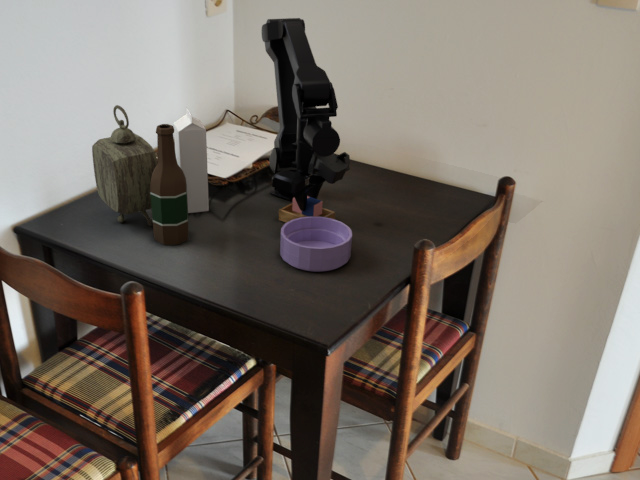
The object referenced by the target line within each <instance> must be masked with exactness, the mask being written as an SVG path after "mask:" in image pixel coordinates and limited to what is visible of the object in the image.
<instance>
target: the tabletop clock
mask: <svg viewBox="0 0 640 480" xmlns="http://www.w3.org/2000/svg"><path fill="white" fill-rule="evenodd" d="M117 110H119V111H120V112H121V113H122V114H123V116H124V118H125V120H123V119H119V118H118V117H117ZM112 112H113V117H114V120H115V123H116V124H117V126H119V127H117V128H116V129H114V130H113V131H111V134H110V137H104V138H100V139H98V140H96V142H94V143H93V144H92V145H91V153H92V154H91V155H92V163H93V164H92V165H93V172H94V179H95V185H96V190H97V195H98V196H99V198H100V199H101V200H102V201H103V202H104V203H105V204H106V205H107V206H108V207H109V208H110V209H111V210H113V211H114V212H115V213H119V215H118V216H117V222H118V223H124V222H125V219H126V218H125V215H130V214H131V215H132V214H136V213H141V214H142V216H144V218H146V220H147V225H148V226H149V227H153V219H152V218H150V216H149V214H148V213H147V210H152V206H151V193H150V183H151V178H152V174H153V171H154V169H155V167H156V166H157V161H158V157H157V155H156V151H155V149H154V148H153V146H152V145H151V144H150V143H149V142H148V141H147V140H146V139H144V137H142V136H141V135H139V134H136V133H135V132H134V131H133V130H131V128H129V125H130V121H129V117H128V113H127V112H126V110H125V109H124V107H122V106H120V105H118V104H115V106H114V107H113V111H112ZM125 121H126V124H125Z"/></svg>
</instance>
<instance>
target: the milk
mask: <svg viewBox="0 0 640 480" xmlns="http://www.w3.org/2000/svg"><path fill="white" fill-rule="evenodd" d="M173 127H174V133H173V137H174V146H175V154H176V160H177V164H178V165H179V167H180V168H181V169H182V170H183V173H184V175H185V177H186V184H187V201H188V214H195V213H203V212H209V211H210V206H209V205H210V202H209V173H208V146H207V144H208V143H207V128H206V127H205V126H204V124H203V123H202V121H201V120H200V119H198V118H196V117H194V116H193V115H192V114H191V112H190V110H189V108H188V107H185V114H184V115H183V116H181V117H180V118H178V119H177V120H175V121H174V122H173Z"/></svg>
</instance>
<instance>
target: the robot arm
mask: <svg viewBox="0 0 640 480" xmlns="http://www.w3.org/2000/svg"><path fill="white" fill-rule="evenodd" d="M261 40H262V42H263V43H264V47H265V48H264V49H265V53H266V54H267V55H268V56H269V58H270V60H272V62H273V69H274V77H275V89H276V90H275V91H276V101H277V110H278V112H277V113H278V122H279V130H278V132H277V134H276V137H275V139H274V141H273V149H272V150H271V153H270V155H269V157H268V163H269V164H268V165H269V168H270V170H271V171H272V173H273V174H274V175H272V176H271V187H272V188H273V190H271V191H270V192H269V194H270V195H271V196H274V197H278V198H280V199H282V200H286V201H289V202H293V198H295V200H296V202H297V204H298V206H299V208H300V210H301V211H305V209H306V203H307V196H308V197H312V198H315V199H318V198H319V194H320V192H321V189H322V187H323V184H324V183H325V182H327V184H330V185H333V184H335V183H337V182H339V181H342V180H343V178H344V176H345V174H346V172H348V171H350V169H351V168H350V163H351V161H350V159H351V157H350V154H348V153H347V152H346V151H344V152H341V153H340V154H338V153H336V152H337V150H338V149H339V147H340V143H341V138H340V135H339V132H338V131H337V130H336V129H335V128H334V127H333V126H332V125H333V124H332V120H331V119H330V118H334V117H335V118H336V117H337V116H338V113H337V110H338V109H339V105H338V101H337V100H338V99H337V95H336V92H335V88H334V86H333V82H331V80H330V78H329V76H328V73H327V72H326V71H325V70H324V69H323V68H321V67H320V66H318V65H317V63H316V60H315V57H314V54H313V52H312V48H311V45H310V42H309V39H308V36H307V33H306V23H305V20H304V19H303V18H300V17H288V18H287V17H286V18H268V19H266V22H265V23H264V24H262V25H261ZM327 105H328V107H326V106H327Z"/></svg>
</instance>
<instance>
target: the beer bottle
mask: <svg viewBox="0 0 640 480" xmlns="http://www.w3.org/2000/svg"><path fill="white" fill-rule="evenodd" d="M155 134H157V135H156V139H157V143H156V144H157V145H156V146H157V166H156V167H155V169H154V171H153V174H152V178H151V183H150V193H151V206H152V209H151V215H152V216H151V219H153V226H152V228H153V237H154V238H153V239H154V240H155V242H158V243H160V244H161V245H163V246H178V245H181V244H182V243H185V242H187V241H188V240H189V235H190V234H189V232H190V230H189V229H190V227H189V226H190V225H189V224H190V223H189V222H190V221H189V213H188V201H187V184H186V177H185V175H184V173H183V170H182V169H181V168H180V167H179V165H178V164H177V160H176V154H175V140H174V125H171V124H169V123H161V124H159V125H156V129H155Z"/></svg>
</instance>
